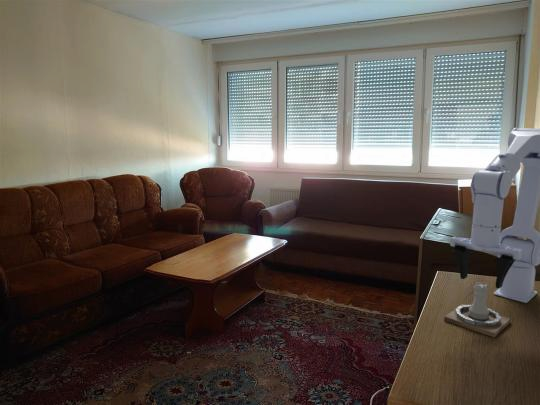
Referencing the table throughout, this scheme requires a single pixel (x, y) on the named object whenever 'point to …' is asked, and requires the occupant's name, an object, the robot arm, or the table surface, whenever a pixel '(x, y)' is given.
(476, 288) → the rook chess piece
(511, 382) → the table surface
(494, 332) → the socket board
